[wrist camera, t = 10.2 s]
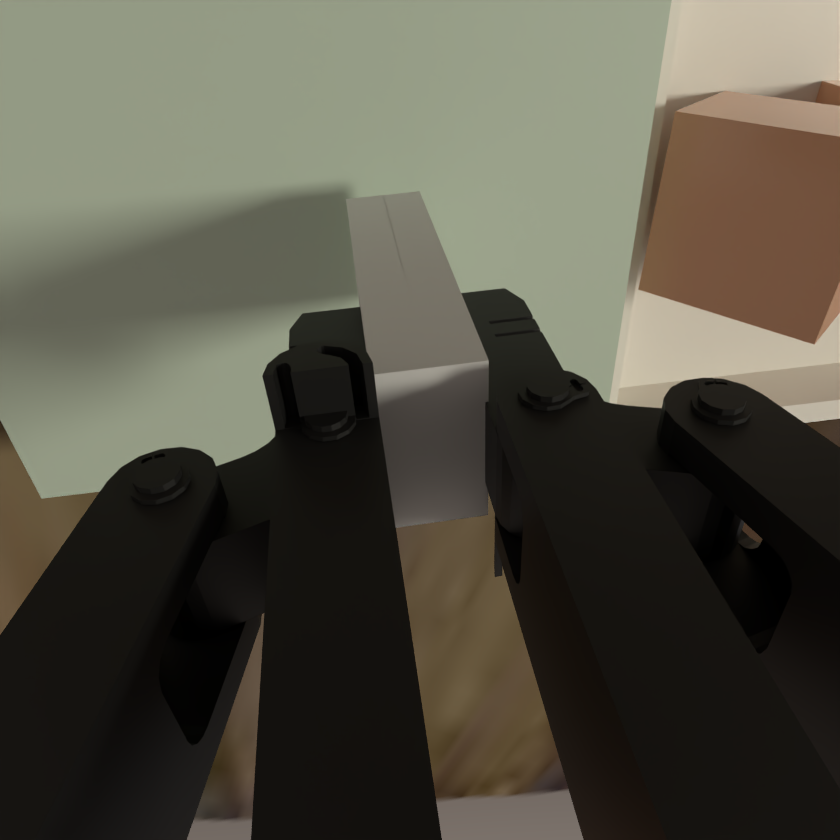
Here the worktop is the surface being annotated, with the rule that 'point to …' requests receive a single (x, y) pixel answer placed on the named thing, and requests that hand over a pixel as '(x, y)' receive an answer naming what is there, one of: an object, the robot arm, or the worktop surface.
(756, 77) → the tray
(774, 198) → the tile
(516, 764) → the worktop surface
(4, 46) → the board
